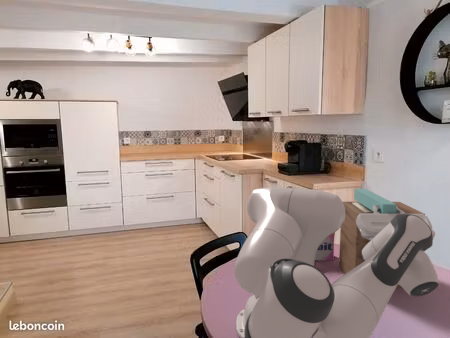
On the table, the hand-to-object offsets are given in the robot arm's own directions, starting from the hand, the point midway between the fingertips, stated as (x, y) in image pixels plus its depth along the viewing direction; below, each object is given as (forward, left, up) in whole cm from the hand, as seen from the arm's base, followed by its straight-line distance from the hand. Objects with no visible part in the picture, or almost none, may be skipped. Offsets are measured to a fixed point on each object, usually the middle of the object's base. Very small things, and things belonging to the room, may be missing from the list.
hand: (384, 206), depth 107 cm
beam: (0, +9, -3) cm, 10 cm away
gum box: (-18, +33, -30) cm, 48 cm away
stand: (+5, +15, -30) cm, 34 cm away
